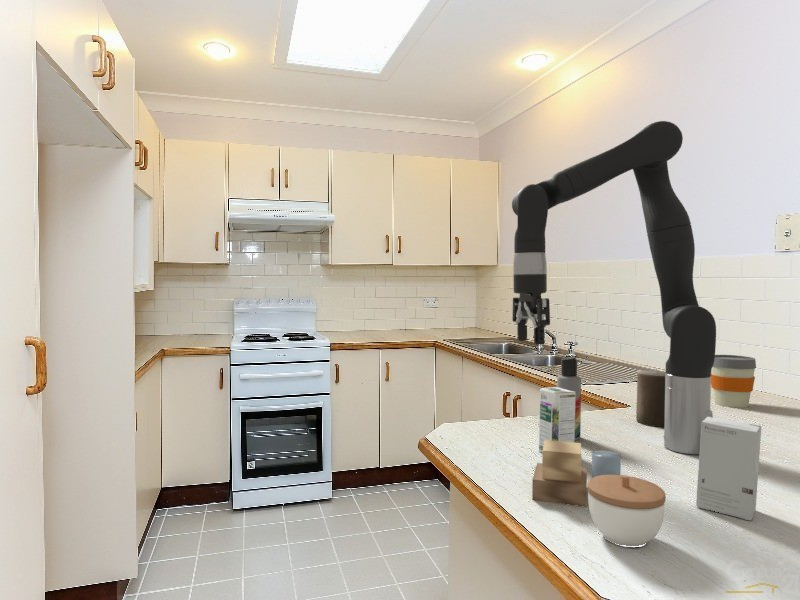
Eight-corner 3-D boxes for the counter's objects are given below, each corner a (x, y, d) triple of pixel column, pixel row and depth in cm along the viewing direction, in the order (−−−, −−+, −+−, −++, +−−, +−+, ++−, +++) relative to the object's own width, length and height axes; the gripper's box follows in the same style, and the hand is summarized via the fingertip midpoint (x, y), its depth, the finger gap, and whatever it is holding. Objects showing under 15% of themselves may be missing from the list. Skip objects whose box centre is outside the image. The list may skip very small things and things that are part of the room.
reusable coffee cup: (754, 403, 167) (755, 356, 167) (756, 411, 157) (757, 361, 156) (709, 398, 174) (709, 353, 174) (707, 405, 163) (708, 358, 163)
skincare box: (695, 508, 89) (697, 421, 89) (703, 497, 94) (704, 414, 93) (755, 522, 84) (757, 430, 83) (759, 510, 88) (761, 422, 88)
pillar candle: (666, 429, 137) (668, 372, 137) (629, 421, 144) (631, 367, 144) (681, 423, 143) (682, 368, 143) (645, 416, 151) (646, 364, 150)
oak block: (580, 470, 97) (580, 443, 97) (581, 482, 91) (581, 454, 90) (544, 466, 99) (544, 440, 99) (542, 478, 93) (542, 450, 92)
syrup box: (537, 451, 119) (538, 388, 118) (558, 448, 121) (559, 386, 121) (554, 459, 114) (555, 392, 113) (575, 455, 116) (576, 390, 115)
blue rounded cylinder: (619, 477, 103) (620, 452, 103) (621, 486, 98) (621, 460, 98) (591, 473, 105) (591, 449, 105) (591, 483, 100) (592, 457, 100)
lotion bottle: (581, 441, 126) (583, 359, 126) (557, 439, 128) (558, 358, 127) (578, 434, 132) (579, 355, 131) (555, 433, 133) (556, 355, 132)
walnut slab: (586, 489, 98) (586, 468, 98) (586, 509, 89) (586, 486, 89) (537, 483, 101) (537, 462, 101) (532, 501, 92) (532, 479, 92)
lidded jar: (585, 548, 75) (586, 484, 75) (587, 517, 85) (588, 460, 85) (669, 562, 72) (670, 495, 71) (660, 528, 82) (661, 469, 81)
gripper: (560, 272, 116) (560, 345, 116) (530, 273, 130) (531, 338, 130) (529, 272, 114) (529, 346, 114) (502, 273, 128) (502, 340, 128)
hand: (530, 342), depth 122 cm, fingers open, 8 cm apart
